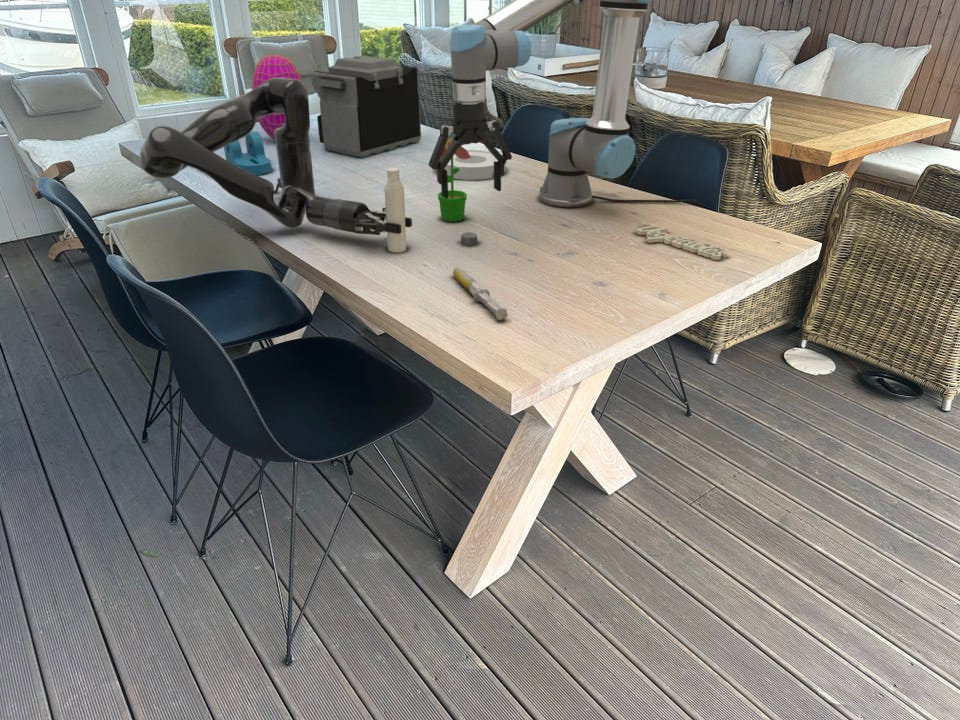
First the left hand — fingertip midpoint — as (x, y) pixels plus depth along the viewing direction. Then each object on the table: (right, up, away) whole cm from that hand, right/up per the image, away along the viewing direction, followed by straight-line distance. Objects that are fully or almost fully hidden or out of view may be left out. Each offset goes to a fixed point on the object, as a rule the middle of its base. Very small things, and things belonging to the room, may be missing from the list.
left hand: (405, 226), depth 164 cm
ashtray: (+15, +32, +66) cm, 75 cm away
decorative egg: (-58, +53, +101) cm, 127 cm away
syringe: (+17, -19, -19) cm, 32 cm away
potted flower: (+11, +7, +24) cm, 27 cm away
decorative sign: (+67, -3, +9) cm, 68 cm away
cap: (+15, -1, +7) cm, 17 cm away
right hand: (+16, +8, +2) cm, 18 cm away
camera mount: (-59, +32, +65) cm, 93 cm away
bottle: (-3, -5, +4) cm, 7 cm away
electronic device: (-23, +48, +94) cm, 108 cm away
